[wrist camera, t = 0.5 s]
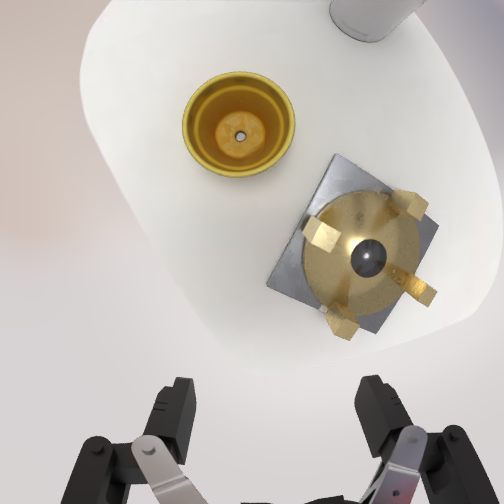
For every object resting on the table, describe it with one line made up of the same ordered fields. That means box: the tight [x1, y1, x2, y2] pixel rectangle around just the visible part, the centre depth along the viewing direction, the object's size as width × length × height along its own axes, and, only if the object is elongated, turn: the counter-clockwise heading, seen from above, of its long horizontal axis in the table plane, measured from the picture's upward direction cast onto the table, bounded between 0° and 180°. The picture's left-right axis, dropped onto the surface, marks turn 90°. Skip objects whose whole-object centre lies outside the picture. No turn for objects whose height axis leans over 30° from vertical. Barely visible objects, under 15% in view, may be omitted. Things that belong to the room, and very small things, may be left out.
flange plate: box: [266, 154, 439, 334], centre depth 36 cm, size 19×19×1 cm
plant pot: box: [182, 72, 295, 177], centre depth 27 cm, size 10×10×10 cm
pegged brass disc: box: [302, 189, 438, 341], centre depth 32 cm, size 19×19×6 cm
